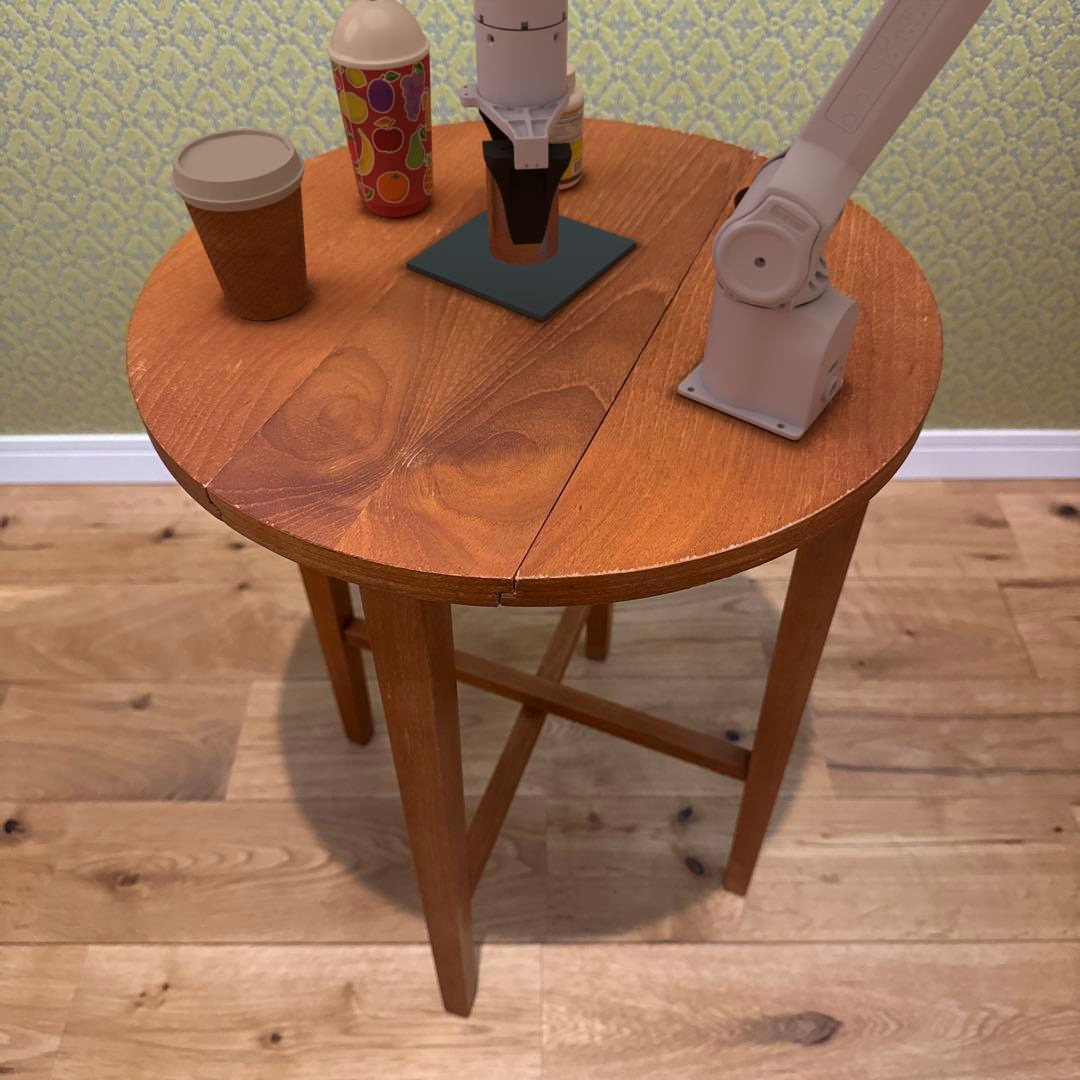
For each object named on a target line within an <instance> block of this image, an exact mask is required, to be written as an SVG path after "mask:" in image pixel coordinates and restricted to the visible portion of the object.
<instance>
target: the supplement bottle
mask: <svg viewBox="0 0 1080 1080" xmlns="http://www.w3.org/2000/svg"><path fill="white" fill-rule="evenodd" d="M576 82H577V80H576V67H575V65H574V64H573V63H572V62H569V61H567V84H568V85H569V88H570V99H569V104H568V106H567V107H566V109H565V111H564V112H563V114H562V116H561V117H560V119H559V121H558V122H557V124H556V126H555V128H554V129H553V131H552V133H551V134H550V136H549V138H548V142H550V143H551V144H552V143H570V146H571V150H572V158H571V161H570V164H569V167H568V168H567V170H566V171H565V173H564V174H563V176H562V178H561V180H560V182H559V191H561V190H566V189H569V188H571V187H573V186H575V185H576V184H577V183H578V182H579V181H580V180H581V177H582V173H583V171H582V170H583V147H584V146H583V145H584V144H583V143H584V111H585V109H584V107H585V105H584V104H585V97H584V96H585V95H584V92H583V90H582V89H581V88H580V87H579V86H578V85H577V84H576Z"/></svg>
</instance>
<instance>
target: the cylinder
mask: <svg viewBox="0 0 1080 1080" xmlns="http://www.w3.org/2000/svg"><path fill="white" fill-rule="evenodd" d="M504 140H510V139H504ZM548 144H551V143H550V142H548ZM485 180H486V181H485V182H486V206H487V209H488V229H489V249H490V252H491V254H492V255H493V256H494V257H495V258H496V259H498V260H500V261H502V262H504V263H507V264H512V265H520V266H526V265H535V264H539V263H543V262H545V261H547V260H549V259H551V258H552V257H553V256H554V255H555V254H556V253H557V251H558V230H559V215H560V190H559V184H558V186H557V189H556V191H555V195H554V198H553V201H552V205H551V210H550V215H549V220H548V224H547V229H546V233H545V236H544V239H543V242H542V243H541V244H522V245H514V244H513V242H512V240H511V237H510V233H509V229H508V225H507V220H506V215H505V210H504V205H503V200H502V197H501V194H500V191H499V188H498V186H497V183H496V181H495V179H494V177H493V176H492V174H491V172H490V171H489V169H488V167H487V165H486V164H485Z"/></svg>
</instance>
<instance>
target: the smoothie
mask: <svg viewBox="0 0 1080 1080" xmlns="http://www.w3.org/2000/svg"><path fill="white" fill-rule="evenodd" d="M430 49H431V41H430V40H429V39H428V36H427V35H425V34H424V32H423V30H422V28H421V26H420V24H419V22H418V21H417V19H416V18H415V16H414V15H413V14H412V12H411V11H410V10H409V9H408V8H407V7H406V6H405V5H403V4H402V3H400V2H399V1H397V0H354V1H352V2H351V3H350V4H349V5H347V6H346V7H345V8H344V9H343V11H342V12H341V13H340V15H339V16H338V18H337V20H336V23H335V25H334V27H333V32H332V34H331V40H330V41H329V43H328V44H327V47H326V52H327V54H328V57H329V63H330V68H331V72H332V77H333V82H334V86H335V91H336V95H337V100H338V104H339V109H340V115H341V118H342V119H341V120H342V123H343V128H344V133H345V137H346V142H347V146H348V152H349V157H350V160H351V165H352V166H351V167H352V171H353V174H354V179H355V185H356V189H357V193H358V195H359V198H360V199H362V200H363V201H364V202H365V204H366V207H367V210H369V211H370V212H371V213H373V214H375V215H378V216H381V217H388V218H403V217H408V216H411V215H414V214H417V213H419V212H421V211H422V210H424V209H425V207H426V206H428V204H429V196H430V195H431V194H432V193H433V191H434V165H433V163H434V162H433V129H432V128H433V127H432V124H433V123H432V122H433V121H432V90H431V89H432V88H431V56H430V55H431V53H430Z"/></svg>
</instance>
